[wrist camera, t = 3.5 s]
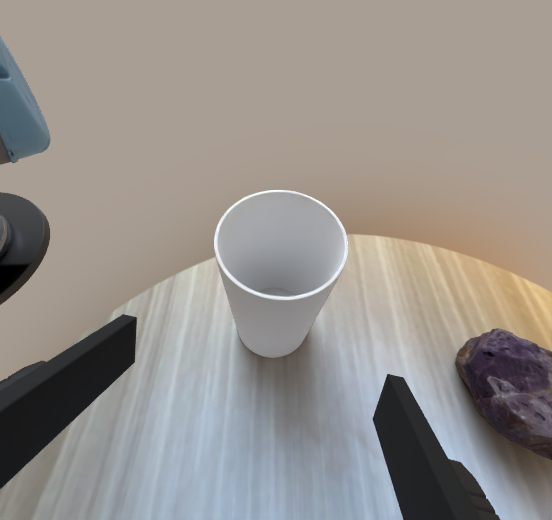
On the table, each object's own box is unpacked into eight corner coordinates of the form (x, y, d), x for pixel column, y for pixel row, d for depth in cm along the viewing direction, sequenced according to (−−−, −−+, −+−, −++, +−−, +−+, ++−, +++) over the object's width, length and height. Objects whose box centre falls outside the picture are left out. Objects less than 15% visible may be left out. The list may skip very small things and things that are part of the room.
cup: (273, 275, 32) (281, 172, 19) (323, 321, 30) (375, 240, 16) (221, 318, 29) (185, 234, 15) (271, 375, 26) (282, 333, 13)
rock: (461, 336, 31) (425, 407, 26) (507, 300, 24) (470, 389, 20) (586, 411, 25) (568, 516, 21) (691, 392, 19) (696, 541, 14)
